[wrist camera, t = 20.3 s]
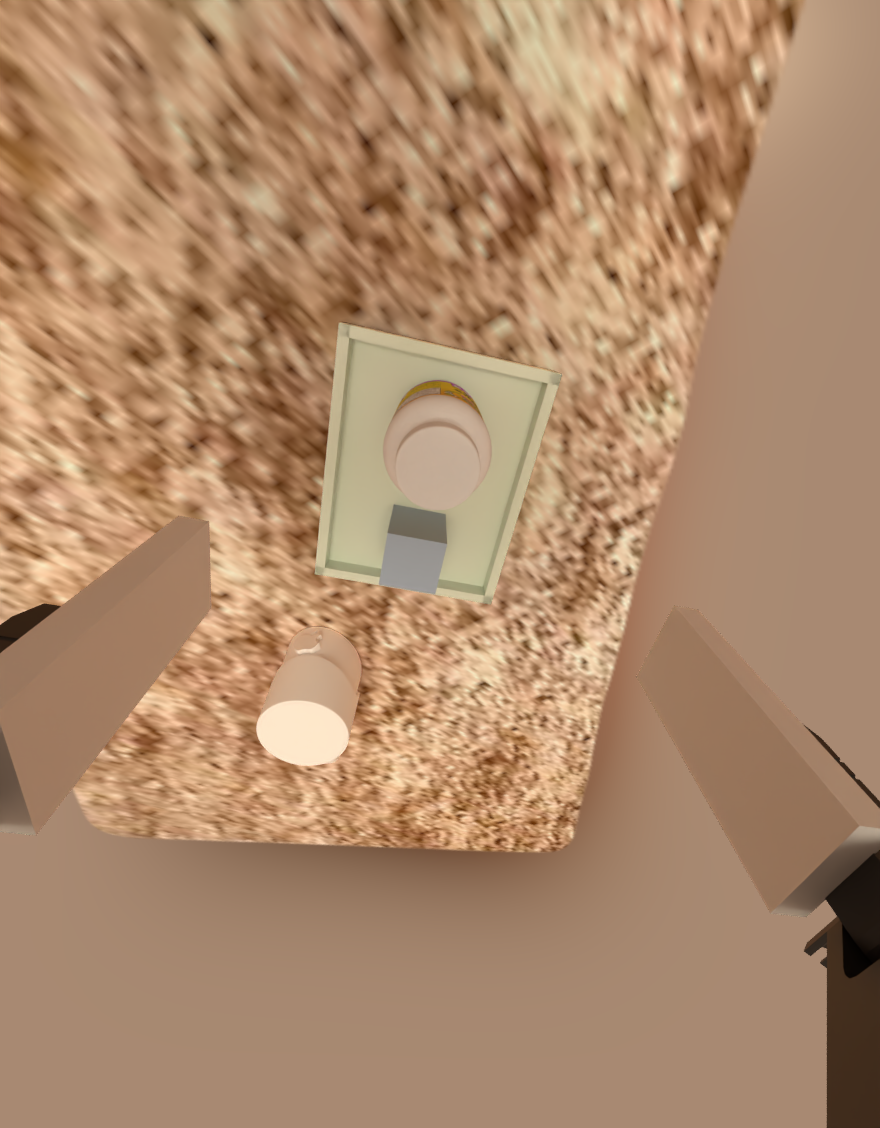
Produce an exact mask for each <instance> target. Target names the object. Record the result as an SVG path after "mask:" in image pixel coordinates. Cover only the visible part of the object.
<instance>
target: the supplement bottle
mask: <svg viewBox="0 0 880 1128" xmlns="http://www.w3.org/2000/svg"><path fill="white" fill-rule="evenodd" d="M491 456H492V446H491V439H490V435H489V432H488V429H487V427H486V425H485V423H484V420H483V418H482V415H481V413H480V411H479V409H478V407H477V405H476V403H475V401H474V400H473V398H472V397H471V396H470V395H469V394H468V392H466V391H465V390H464V389H463V388H462V387H460V386H458V385H456V384H454V383H452V382H449V381H445V380H431V381H426V382H423V383H421V384H419V385H417V386H415V387H414V388H412V389H411V390H410V391H409V392H407V394H406V395H405V396H404V397H403V398H402V400H401V402H400V403H399V405H398V407H397V409H396V412H395V414H394V416H393V418H392V420H391V422H390V424H389V426H388V429H387V432H386V435H385V438H384V444H383V457H384V463H385V467H386V470H387V472H388V475H389V476H390V478H391V480H392V482H393V483H394V484H395V486H396V487H397V488H398V489H399V490H400V491H401V492H402V493H403V494H404V495H405V496H406V497H407V498H408V499H409V500H410V501H411V502H413V503H414V504H416V505H418V506H420V507H422V508H425V509H429V510H446V509H450V508H453V507H455V506H457V505H459V504H461V503H462V502H464V501H465V500H466V499H467V498H468V497H469V496H470V495H471V494H472V493H473V492H474V491H475V490H476V489H477V488H478V487H479V485H480V484H481V483H482V481H483V480H484V478H485V476H486V474H487V472H488V469H489V466H490V462H491Z"/></svg>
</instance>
